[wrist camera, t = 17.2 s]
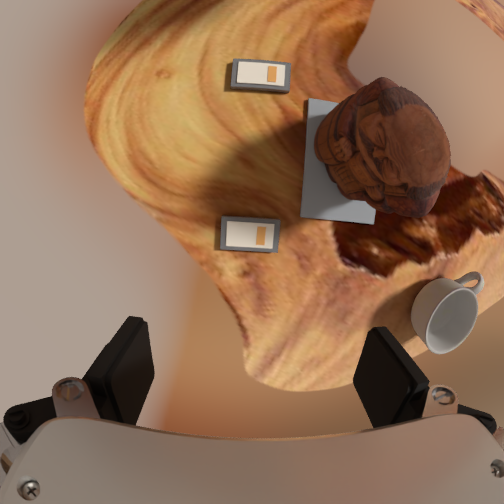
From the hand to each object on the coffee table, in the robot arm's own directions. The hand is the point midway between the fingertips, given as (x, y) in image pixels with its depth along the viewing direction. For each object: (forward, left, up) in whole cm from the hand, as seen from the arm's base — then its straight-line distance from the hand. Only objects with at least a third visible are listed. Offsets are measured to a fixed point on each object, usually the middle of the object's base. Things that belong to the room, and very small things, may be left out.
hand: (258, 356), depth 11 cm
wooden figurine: (-10, +11, -24) cm, 28 cm away
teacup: (+8, +31, -25) cm, 40 cm away
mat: (-10, +11, -24) cm, 28 cm away
